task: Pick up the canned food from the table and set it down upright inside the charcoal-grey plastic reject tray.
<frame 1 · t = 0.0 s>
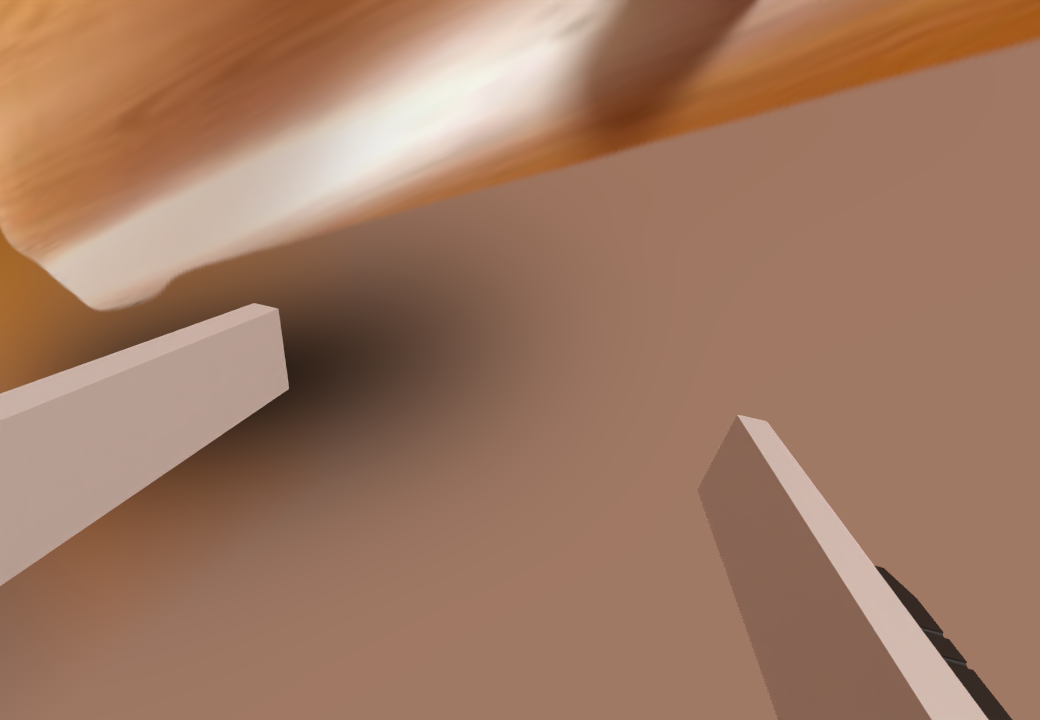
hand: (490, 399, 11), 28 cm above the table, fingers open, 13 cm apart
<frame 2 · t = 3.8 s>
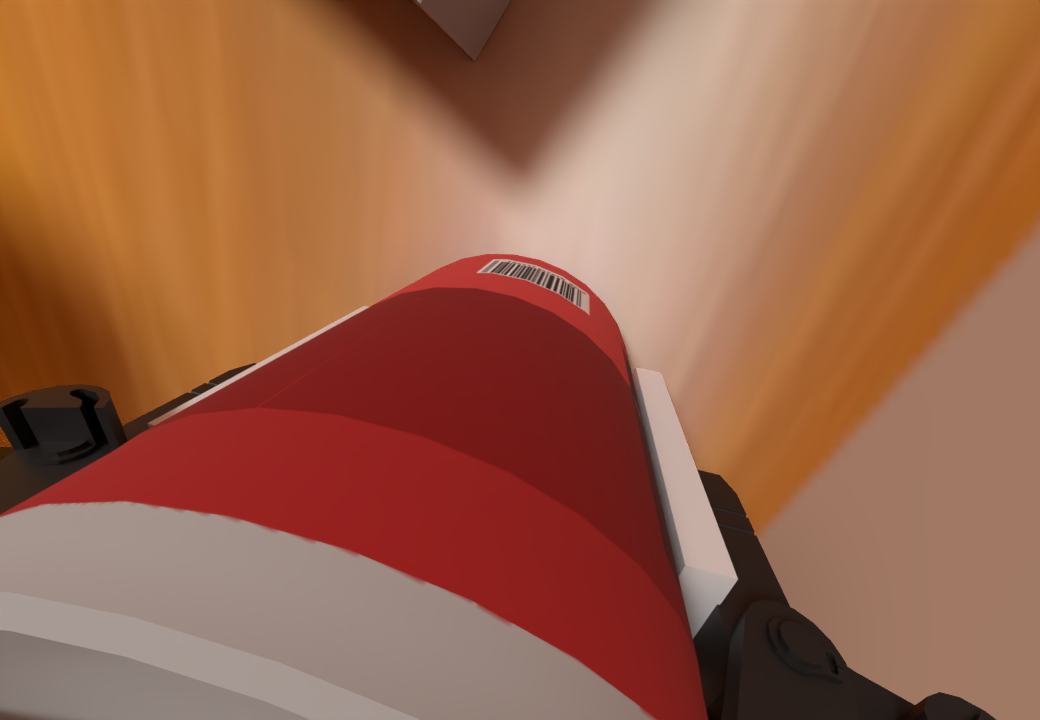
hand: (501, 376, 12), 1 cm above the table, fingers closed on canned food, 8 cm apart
canned food: (509, 356, 13), on the table, touching gripper
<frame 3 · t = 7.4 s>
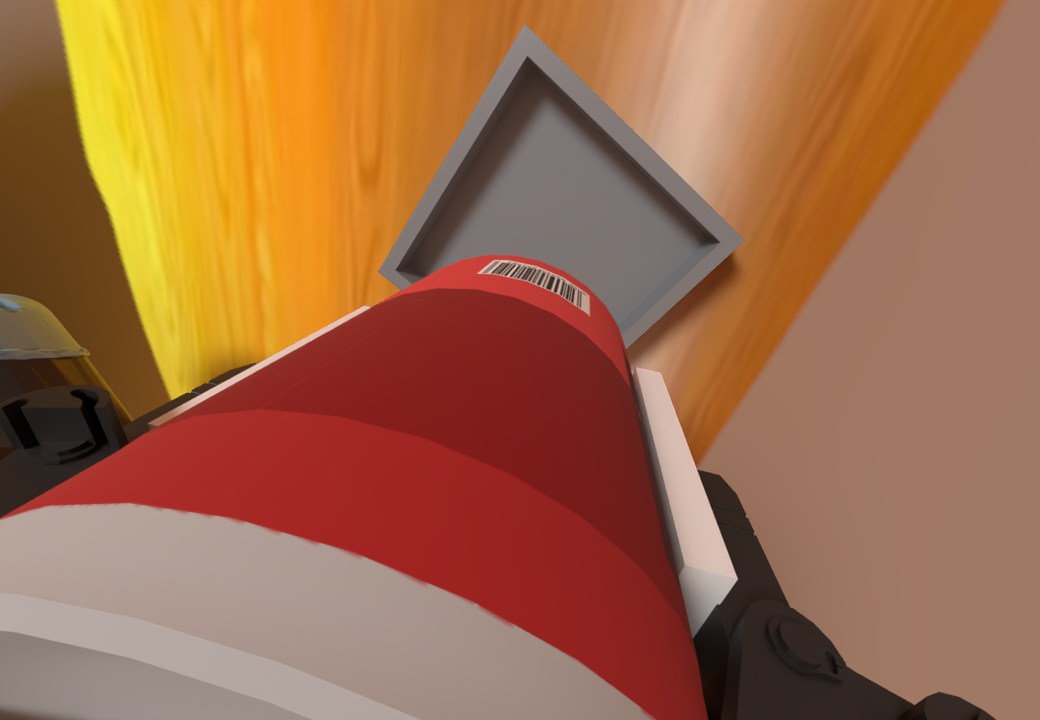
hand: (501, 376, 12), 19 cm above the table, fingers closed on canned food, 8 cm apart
canned food: (510, 357, 13), point 18 cm above the table, touching gripper
reject tray: (548, 249, 29), on the table
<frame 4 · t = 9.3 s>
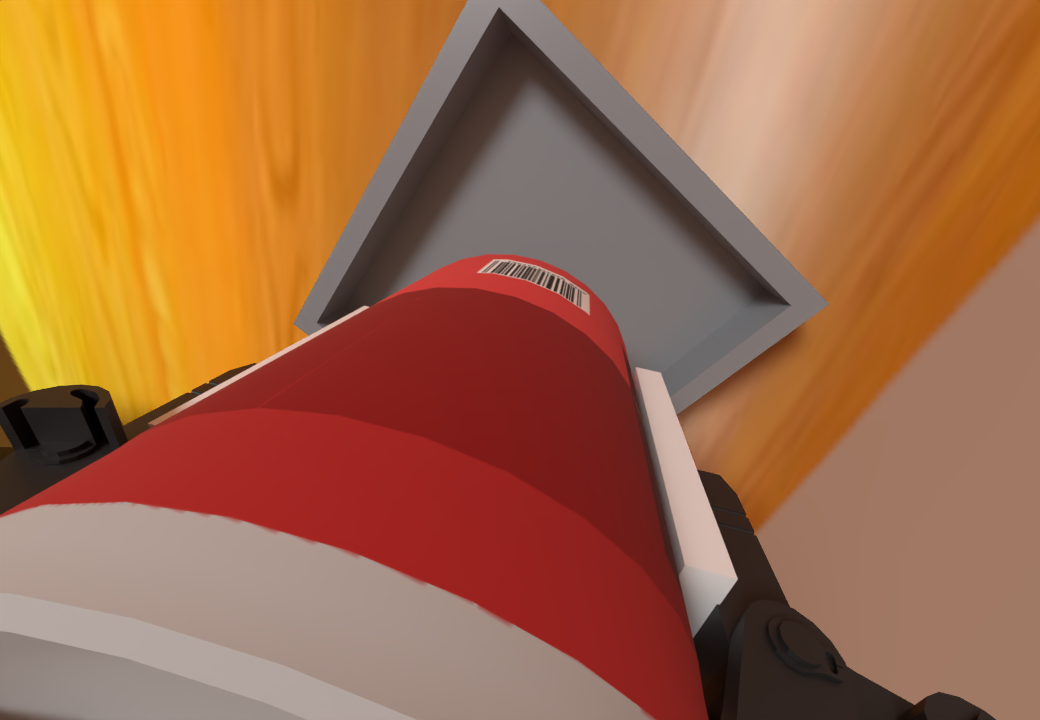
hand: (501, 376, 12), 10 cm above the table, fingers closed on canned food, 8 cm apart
canned food: (510, 357, 13), point 8 cm above the table, touching gripper
reject tray: (535, 295, 21), on the table
when the fingers open (4 cm above the table, at t = 10.8 s): canned food drops 2 cm, resting on reject tray.
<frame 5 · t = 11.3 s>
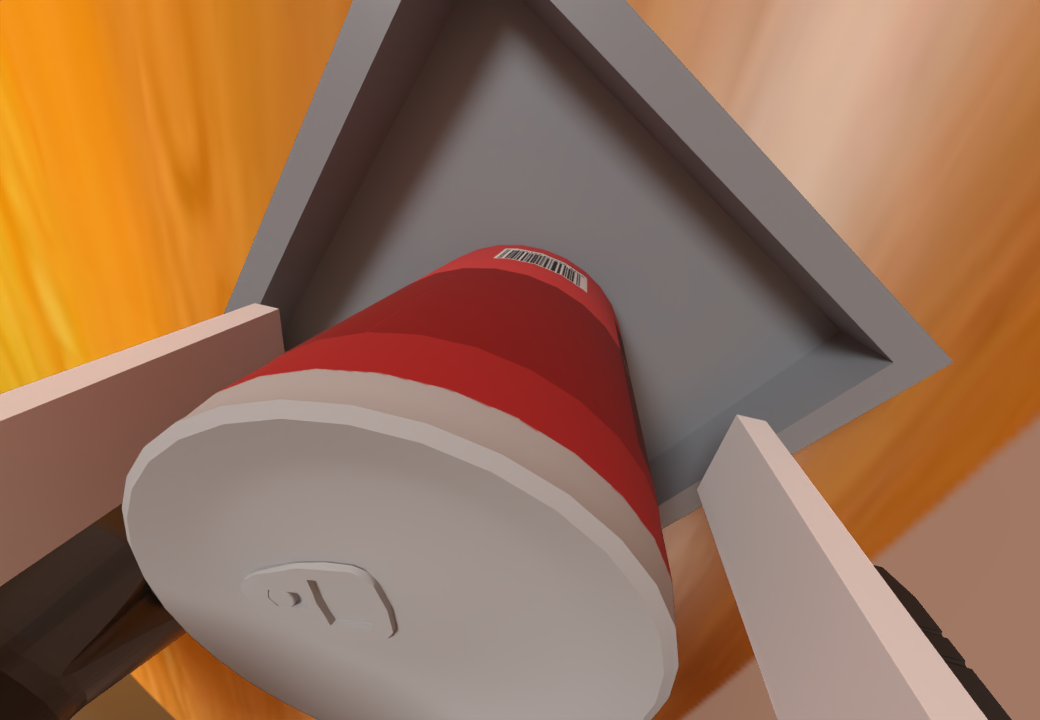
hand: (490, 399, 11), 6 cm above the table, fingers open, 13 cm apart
canned food: (517, 337, 15), point 1 cm above the table, touching reject tray
reject tray: (522, 329, 16), on the table
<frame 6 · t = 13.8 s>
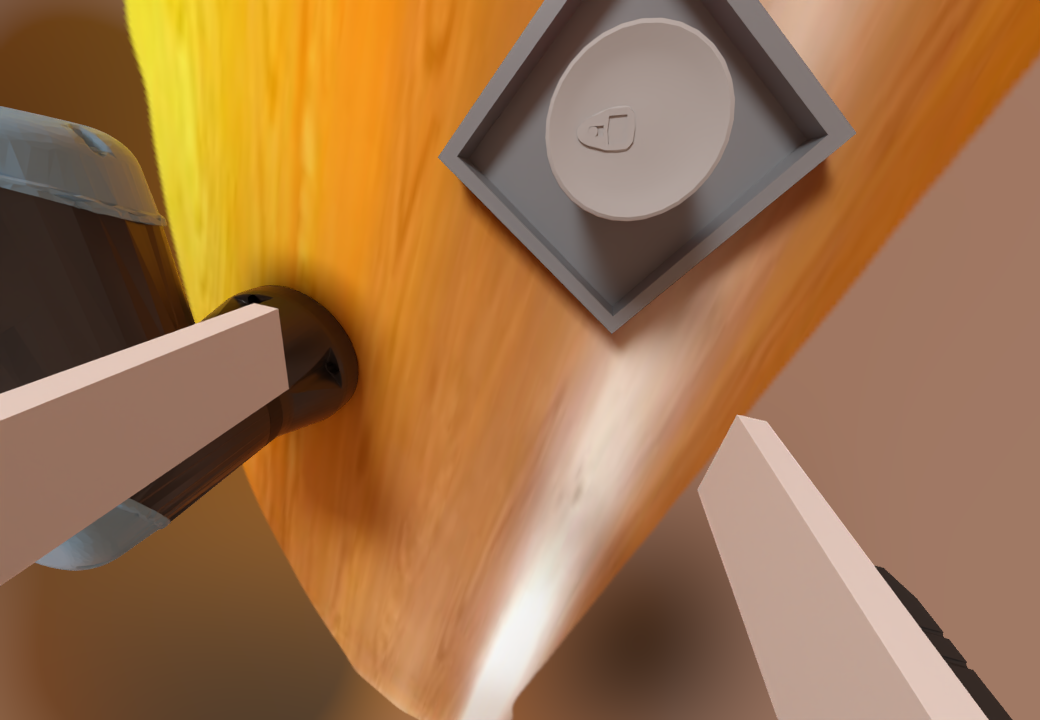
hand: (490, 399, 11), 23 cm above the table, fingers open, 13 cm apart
canned food: (622, 150, 26), point 1 cm above the table, touching reject tray
reject tray: (622, 150, 27), on the table
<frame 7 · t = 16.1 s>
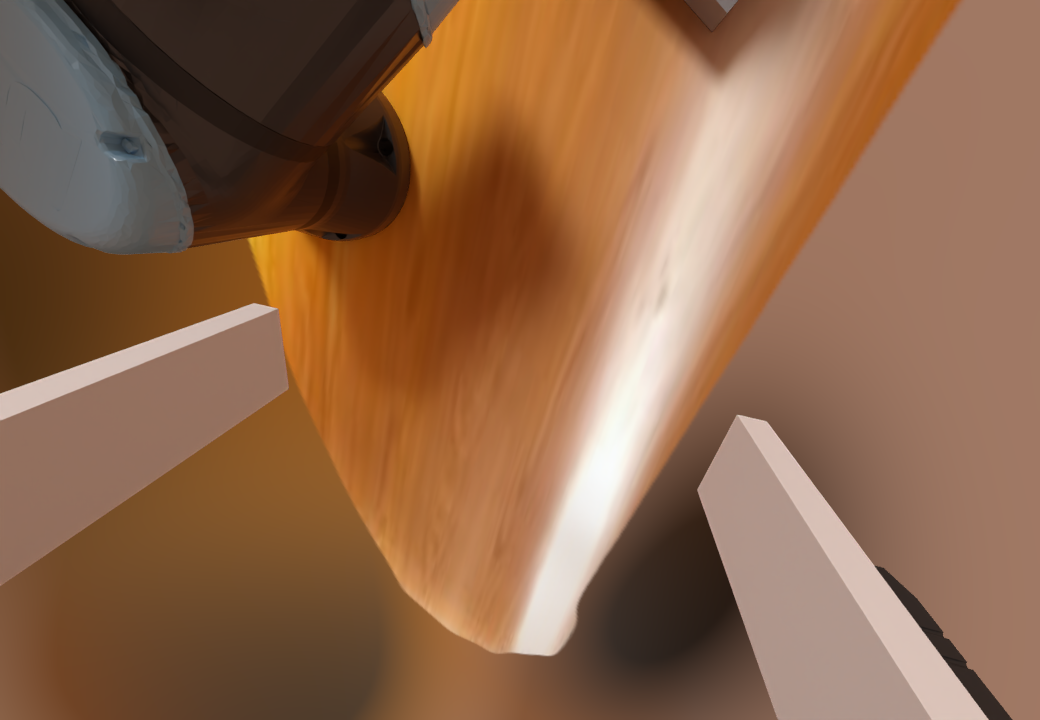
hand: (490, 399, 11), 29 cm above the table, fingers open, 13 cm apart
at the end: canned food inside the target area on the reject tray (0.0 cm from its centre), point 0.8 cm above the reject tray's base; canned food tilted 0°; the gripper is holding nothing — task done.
